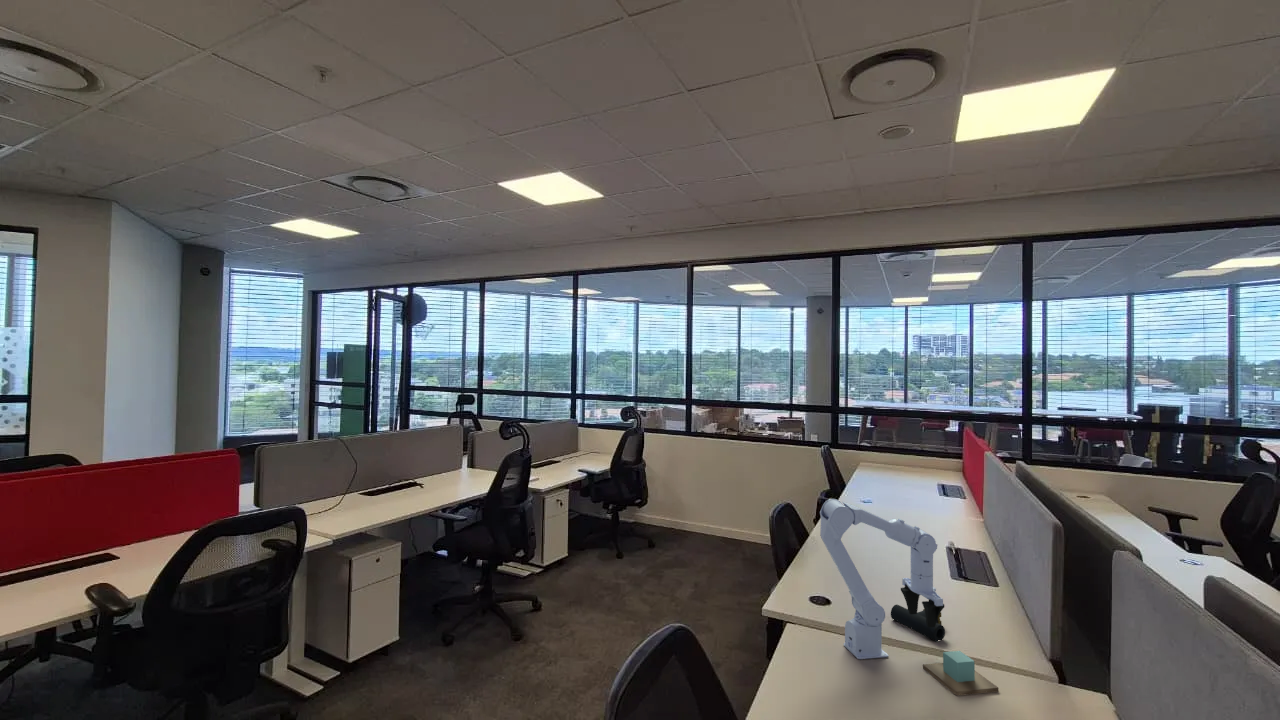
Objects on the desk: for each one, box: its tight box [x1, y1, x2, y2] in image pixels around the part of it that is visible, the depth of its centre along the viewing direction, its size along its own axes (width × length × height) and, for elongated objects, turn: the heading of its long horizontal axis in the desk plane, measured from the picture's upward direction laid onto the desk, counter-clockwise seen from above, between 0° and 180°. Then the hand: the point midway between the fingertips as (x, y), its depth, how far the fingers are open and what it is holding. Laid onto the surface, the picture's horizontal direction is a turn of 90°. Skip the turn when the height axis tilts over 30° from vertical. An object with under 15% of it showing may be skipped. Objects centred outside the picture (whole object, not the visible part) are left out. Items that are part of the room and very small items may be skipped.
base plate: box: [922, 662, 999, 697], centre depth 136 cm, size 12×12×4 cm
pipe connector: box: [890, 604, 946, 642], centre depth 163 cm, size 12×5×15 cm
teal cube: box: [942, 650, 976, 682], centre depth 136 cm, size 5×5×5 cm
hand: (921, 620), depth 148 cm, fingers open, 7 cm apart
